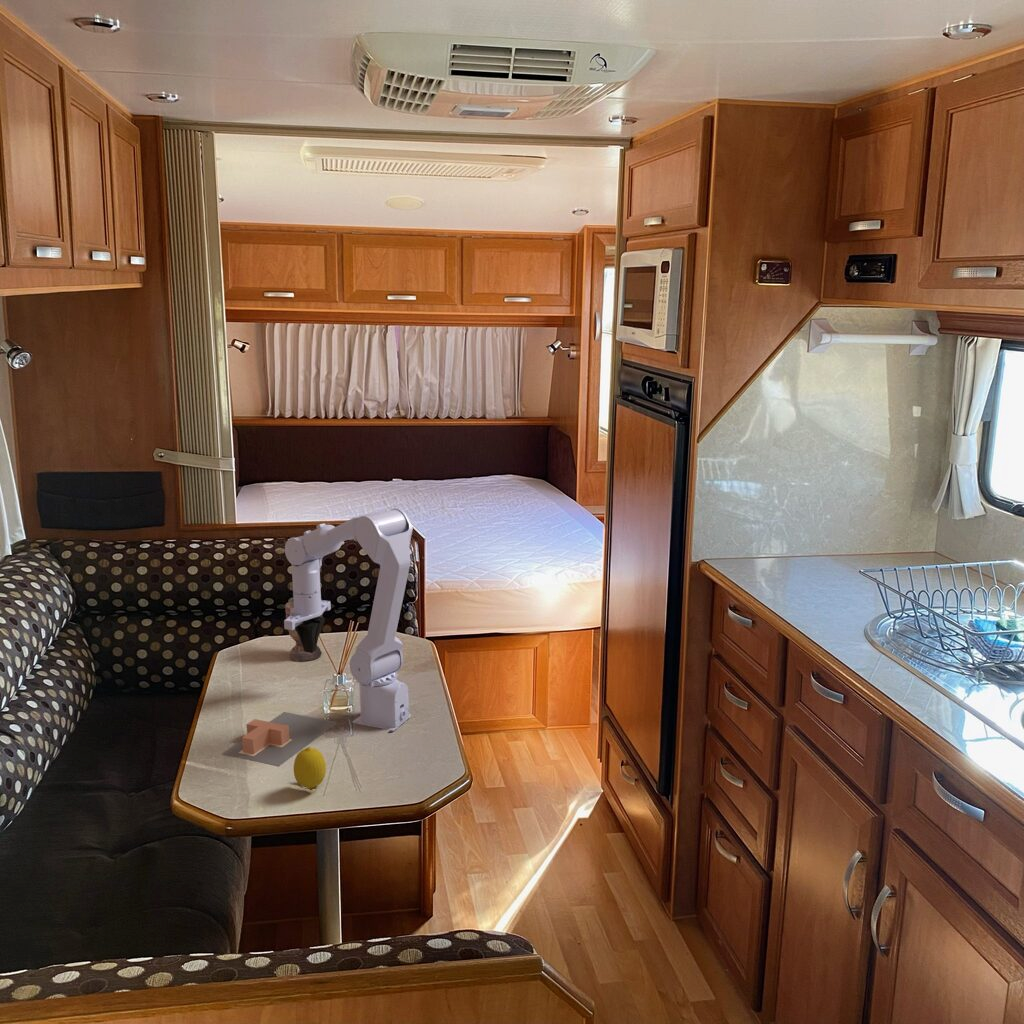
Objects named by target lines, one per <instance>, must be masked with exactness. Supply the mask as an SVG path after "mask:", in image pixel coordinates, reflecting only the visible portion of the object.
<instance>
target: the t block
mask: <svg viewBox="0 0 1024 1024" xmlns="http://www.w3.org/2000/svg"><path fill="white" fill-rule="evenodd" d="M241 740H242V745H243V752H245V753H250V754H255V753H257V752H258V751H259V750H261V749H262V748H264V747H265V746H267V745H268V744H269V743H272V744H277V745H284V744H285V743H286V742H288V741H289V740H290V738H289V726H287V725H282V724H277V723H272V722H270V721H266V720H260V719H258V718H257V719H256V718H254V719H252V720H250V722H248V723H246V734H244V735H243V736H242V737H241Z"/></svg>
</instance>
